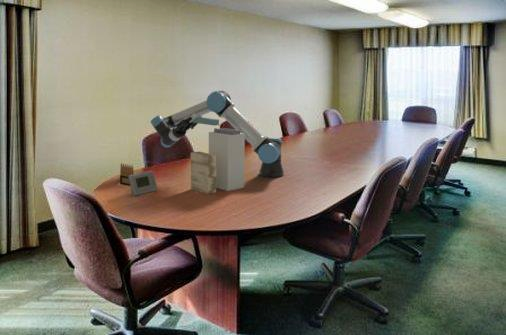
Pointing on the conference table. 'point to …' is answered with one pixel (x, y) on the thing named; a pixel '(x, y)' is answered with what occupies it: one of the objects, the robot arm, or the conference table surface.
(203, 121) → the rail
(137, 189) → the digital clock
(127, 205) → the conference table surface
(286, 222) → the conference table surface
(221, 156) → the grey stand
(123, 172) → the ammunition clip
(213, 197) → the conference table surface
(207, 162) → the beige stone block
